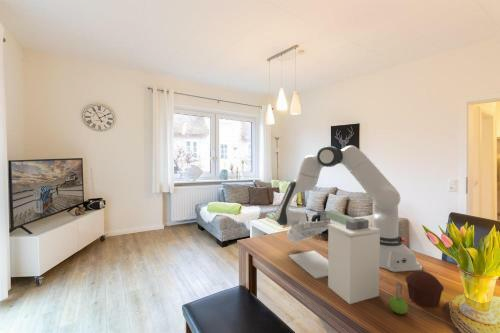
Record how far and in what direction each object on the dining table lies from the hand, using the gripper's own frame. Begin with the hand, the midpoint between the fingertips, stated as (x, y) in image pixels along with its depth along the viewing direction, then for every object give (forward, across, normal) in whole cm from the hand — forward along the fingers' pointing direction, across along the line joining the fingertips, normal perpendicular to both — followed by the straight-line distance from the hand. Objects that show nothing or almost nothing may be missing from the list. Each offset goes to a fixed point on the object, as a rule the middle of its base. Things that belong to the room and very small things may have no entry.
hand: (319, 223), depth 112 cm
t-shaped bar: (+16, 0, +4) cm, 17 cm away
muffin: (+20, +20, +36) cm, 46 cm away
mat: (-14, 0, +17) cm, 22 cm away
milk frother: (-41, +30, +2) cm, 51 cm away
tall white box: (+8, 0, +29) cm, 30 cm away
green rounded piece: (+21, +5, +37) cm, 43 cm away
